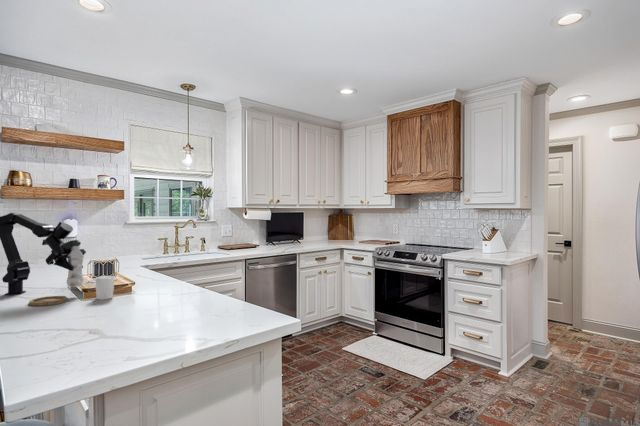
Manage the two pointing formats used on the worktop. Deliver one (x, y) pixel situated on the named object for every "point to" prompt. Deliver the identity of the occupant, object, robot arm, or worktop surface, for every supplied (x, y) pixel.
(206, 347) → the worktop surface
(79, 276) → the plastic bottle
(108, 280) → the white cup
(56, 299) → the brown round plate
